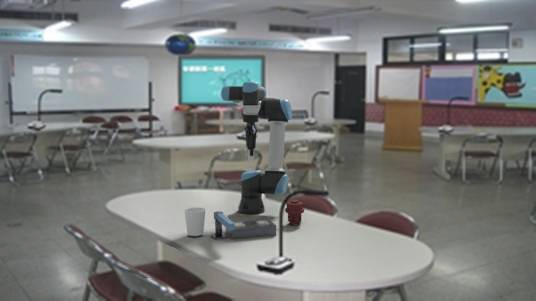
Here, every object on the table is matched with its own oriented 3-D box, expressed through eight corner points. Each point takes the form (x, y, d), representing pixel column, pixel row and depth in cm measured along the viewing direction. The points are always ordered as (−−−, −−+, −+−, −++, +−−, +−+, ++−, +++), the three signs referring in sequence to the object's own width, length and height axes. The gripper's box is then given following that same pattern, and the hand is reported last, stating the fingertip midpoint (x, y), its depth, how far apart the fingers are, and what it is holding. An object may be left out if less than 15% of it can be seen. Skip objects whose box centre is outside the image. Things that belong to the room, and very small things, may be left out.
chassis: (225, 232, 266) (225, 222, 265) (268, 229, 273) (268, 218, 272) (232, 239, 255) (231, 228, 254) (276, 235, 261) (276, 224, 261)
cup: (199, 239, 255) (199, 212, 254) (181, 237, 259) (180, 211, 257) (209, 233, 264) (208, 208, 263) (191, 231, 268) (190, 206, 266)
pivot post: (211, 235, 261) (210, 218, 260) (223, 234, 262) (223, 217, 261) (213, 239, 255) (213, 221, 254) (226, 238, 257) (226, 220, 256)
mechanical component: (305, 222, 286) (302, 227, 277) (286, 221, 288) (283, 226, 279) (305, 199, 285) (302, 203, 275) (286, 198, 287) (283, 202, 277)
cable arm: (212, 217, 259) (212, 211, 259) (221, 217, 260) (221, 211, 260) (227, 230, 236) (226, 224, 236) (236, 229, 238) (236, 223, 238)
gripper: (239, 113, 268) (240, 160, 271) (246, 114, 256) (247, 164, 258) (254, 113, 270) (254, 160, 273) (262, 114, 258) (262, 163, 261)
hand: (250, 162), depth 266 cm, fingers closed
